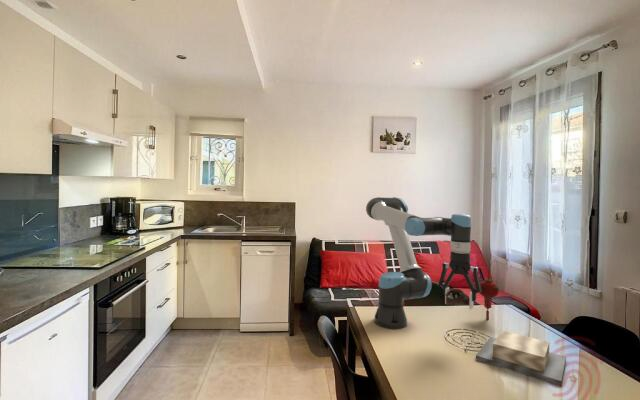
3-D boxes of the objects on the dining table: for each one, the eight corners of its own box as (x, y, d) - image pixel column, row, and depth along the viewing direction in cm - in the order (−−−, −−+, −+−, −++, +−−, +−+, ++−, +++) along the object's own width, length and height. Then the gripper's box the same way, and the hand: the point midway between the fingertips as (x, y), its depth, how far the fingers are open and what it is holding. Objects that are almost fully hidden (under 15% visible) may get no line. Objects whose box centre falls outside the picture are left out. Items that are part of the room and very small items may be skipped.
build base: (475, 359, 126) (476, 342, 125) (490, 340, 143) (490, 325, 142) (561, 385, 109) (561, 365, 109) (565, 360, 126) (566, 343, 126)
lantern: (490, 324, 161) (492, 261, 160) (472, 317, 169) (474, 258, 168) (502, 321, 165) (504, 260, 165) (484, 314, 174) (486, 257, 173)
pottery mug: (476, 312, 134) (469, 295, 132) (453, 320, 136) (446, 304, 134) (466, 295, 146) (459, 280, 144) (445, 303, 147) (438, 288, 146)
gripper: (431, 249, 143) (429, 302, 143) (486, 256, 129) (485, 314, 129) (437, 247, 149) (436, 298, 149) (491, 253, 135) (489, 309, 135)
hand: (458, 305), depth 139 cm, fingers closed on pottery mug, 9 cm apart
